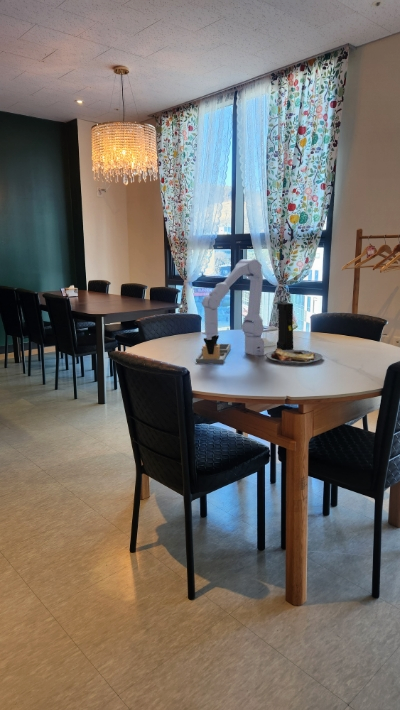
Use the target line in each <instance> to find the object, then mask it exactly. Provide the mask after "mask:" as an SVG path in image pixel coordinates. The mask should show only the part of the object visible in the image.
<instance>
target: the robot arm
mask: <svg viewBox="0 0 400 710" xmlns="http://www.w3.org/2000/svg"><path fill="white" fill-rule="evenodd" d="M241 276H242V277H243V276H246V277H247V279H248V280H250V283H249V284H250V285H249V293H248V294H249V295H248V296H249V297H248V307H247V314H246V315H245V316H244V317H243V322H242V324H241V330H242V332H243V335H244V354H248V355H251V356H258V357H259V356H265V354H266V353H265V341H264V339H263V338H262V337H261V336H262V334H263V332H264V328H265V327H264V325H263V318H262V317H261V316H260V312H261V311H260V310H261V302H262V301H261V299H262V293H263V292H262V291H263V279H264V277H263V271H262V264H261V262H259V260H258V259H257V258H256V259H255V258H253V259H252V258H251V259H247V258H246V259H244V258H243V259H240V260H239V261H238V262H237V263H236V264H235V267H234V268H233V270H231V272H230V273H229V274H228V276H227V277H226V278H225V280H224V281H223V282H219V283H217V284H215V287H214V288H213V290H211V291H210V292H209V294H207V295H205V296H204V297H203V299H202V301H201V306H202V307H203V310H204V331H203V332H202V335H205V336H206V337H205V338H203V342H204V344H206V346H207V351H208V354H213V353H214V346H215V344H218V340H219V337H220V336H219V332H218V331H219V330H218V329H219V328H218V327H219V326H218V325H219V324H218V323H219V322H218V317H219V314H218V312H219V311H218V310H219V309H218V308H219V307H220V305H221V301H222V300H223V299H224V298H225V297H226V296H227V294H229V292H230V287H231V286H232V285H233V284H234V283H235V282H236V281H237V280H238V279H239V278H240V277H241Z"/></svg>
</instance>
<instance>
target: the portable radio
mask: <svg viewBox="0 0 400 710" xmlns="http://www.w3.org/2000/svg"><path fill="white" fill-rule="evenodd" d="M276 309H278V322H277V323H278V324H277V325H278V326H277V328H278V329H277V331H278V334H277V335H278V338H277V342H276V349H277V348H279V349H281V350H294V348H295V347H294V326H293V324H294V317H293V316H294V311H293V310H294V303H292V302H283V300H282V297H280V302H278V303H277V305H276Z"/></svg>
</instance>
